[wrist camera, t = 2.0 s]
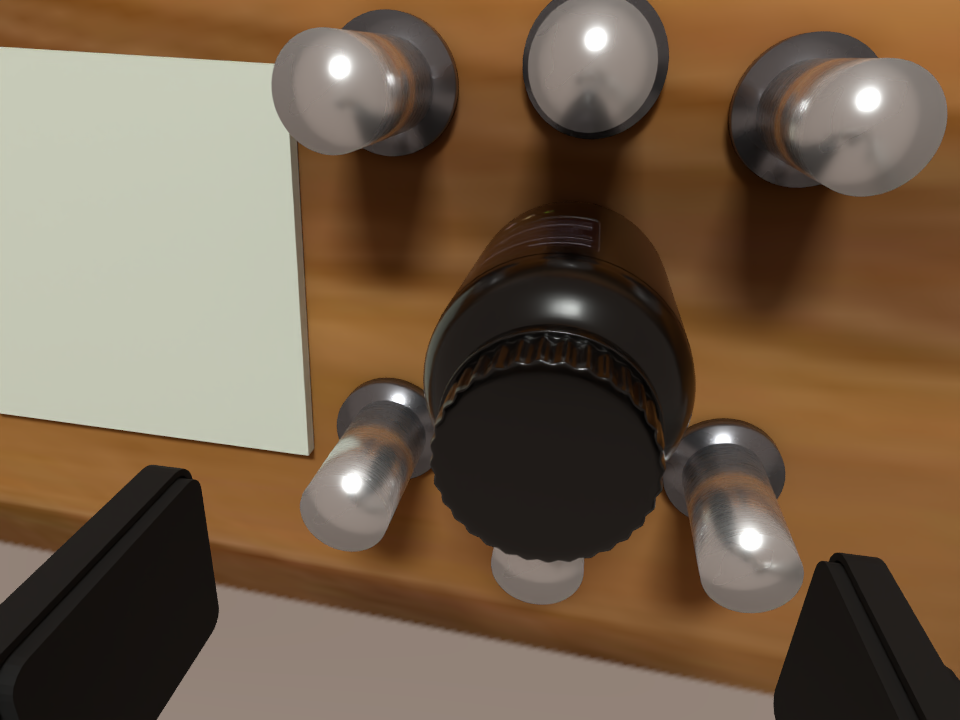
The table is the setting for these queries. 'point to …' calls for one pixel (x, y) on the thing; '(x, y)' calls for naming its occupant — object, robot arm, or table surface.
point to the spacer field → (592, 115)
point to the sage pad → (151, 249)
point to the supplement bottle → (558, 385)
